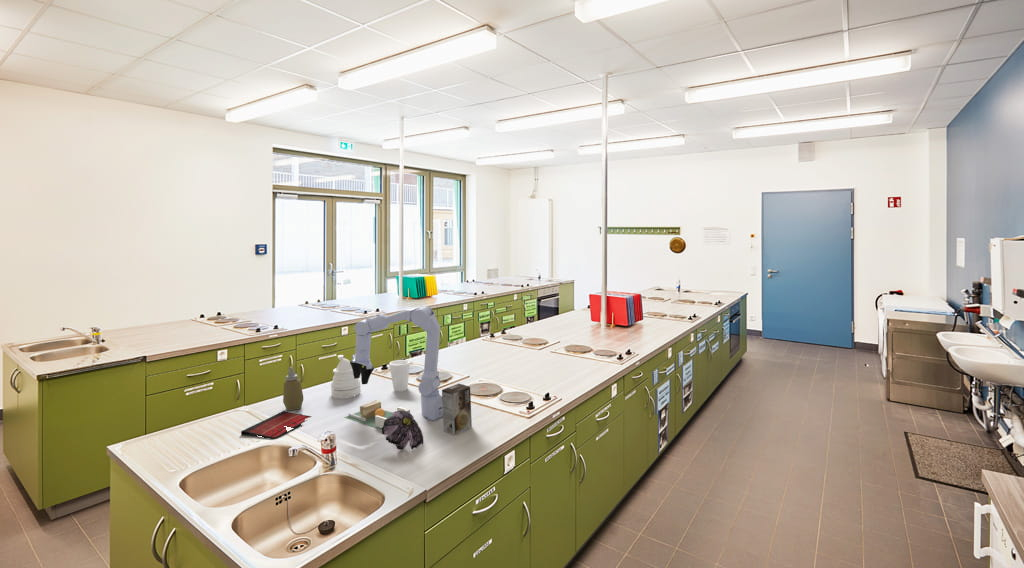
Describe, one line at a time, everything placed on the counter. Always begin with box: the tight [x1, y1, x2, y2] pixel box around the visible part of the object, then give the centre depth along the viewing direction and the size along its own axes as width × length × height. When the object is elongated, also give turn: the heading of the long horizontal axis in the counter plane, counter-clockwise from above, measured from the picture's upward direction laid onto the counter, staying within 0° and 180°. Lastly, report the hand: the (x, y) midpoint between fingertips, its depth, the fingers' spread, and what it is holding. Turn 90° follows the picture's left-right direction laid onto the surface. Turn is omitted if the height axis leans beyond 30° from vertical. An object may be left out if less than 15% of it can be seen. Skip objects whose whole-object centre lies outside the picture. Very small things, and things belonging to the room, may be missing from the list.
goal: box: [375, 406, 411, 428], centre depth 184 cm, size 6×12×4 cm, turn 145°
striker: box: [359, 400, 382, 419], centre depth 192 cm, size 3×8×5 cm, turn 145°
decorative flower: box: [381, 410, 424, 451], centre depth 167 cm, size 14×12×15 cm
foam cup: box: [388, 359, 411, 392], centre depth 227 cm, size 10×9×13 cm
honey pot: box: [330, 354, 362, 399], centre depth 222 cm, size 13×13×18 cm
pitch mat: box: [343, 409, 393, 431], centre depth 189 cm, size 25×14×2 cm, turn 55°
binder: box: [240, 410, 313, 440], centre depth 185 cm, size 16×2×21 cm
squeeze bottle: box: [282, 366, 305, 411], centre depth 204 cm, size 8×8×18 cm
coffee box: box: [441, 383, 473, 436], centre depth 178 cm, size 9×6×16 cm
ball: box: [375, 408, 386, 417], centre depth 189 cm, size 4×4×4 cm
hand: (360, 381), depth 197 cm, fingers open, 7 cm apart
